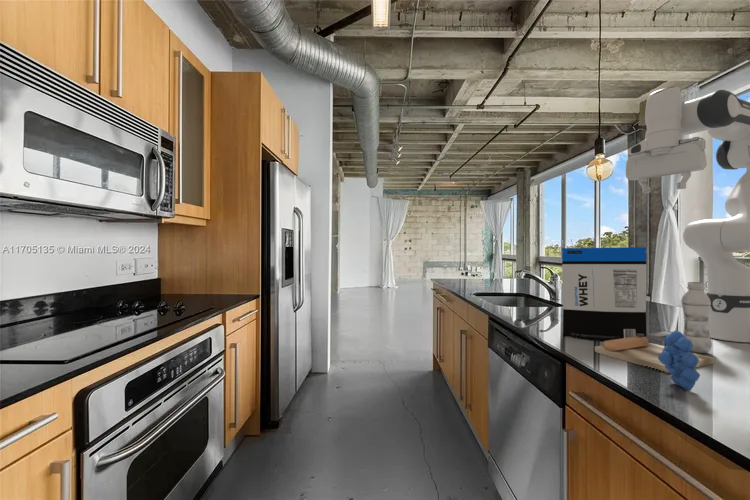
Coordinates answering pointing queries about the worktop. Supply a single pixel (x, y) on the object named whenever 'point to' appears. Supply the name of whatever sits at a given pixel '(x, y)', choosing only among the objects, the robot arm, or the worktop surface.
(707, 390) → the worktop surface
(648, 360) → the board
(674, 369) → the grapes
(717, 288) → the robot arm
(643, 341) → the link
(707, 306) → the plastic bottle
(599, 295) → the protein powder
